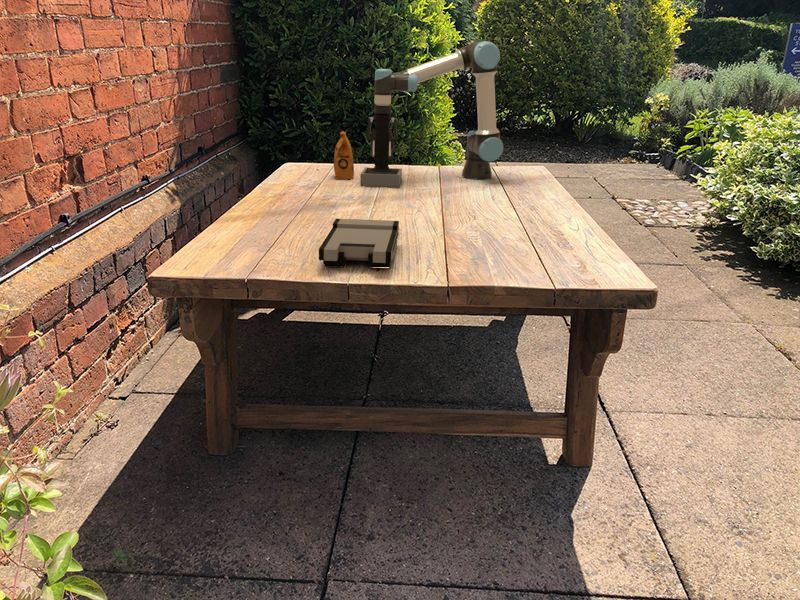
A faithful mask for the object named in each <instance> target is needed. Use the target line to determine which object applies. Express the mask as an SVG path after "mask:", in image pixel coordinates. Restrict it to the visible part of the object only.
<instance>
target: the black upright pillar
mask: <svg viewBox="0 0 800 600" xmlns="http://www.w3.org/2000/svg"><path fill="white" fill-rule="evenodd" d="M375 116H376V122H375V121H374V122H375V123H374V129H375V128H376V131H375V132H376V134H375V137H374V141H375V155H374V167H371V168H372V169H371V171H374V172H391V171H392V169H390V166H389V165H390V161H389V160H390V156H389V141H390V137H389V134H388V132H389V131H388V126H389V128H390V129H391V127H390V125H391V124H390V122H389V120H388V118H389V115H387V114H376V115H375ZM375 126H376V127H375Z"/></svg>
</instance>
